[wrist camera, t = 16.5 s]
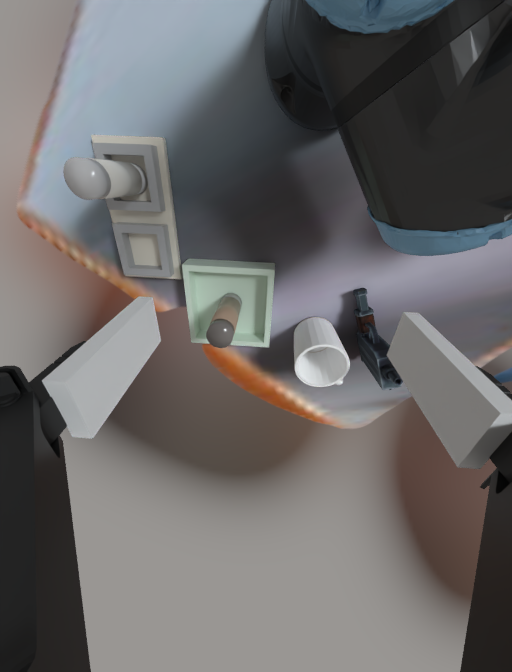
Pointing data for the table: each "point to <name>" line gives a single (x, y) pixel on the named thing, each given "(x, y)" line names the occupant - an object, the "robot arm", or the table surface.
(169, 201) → the panel
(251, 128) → the table surface
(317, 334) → the mug
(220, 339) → the fuse
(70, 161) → the fuse
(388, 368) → the gun
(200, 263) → the parts tray
